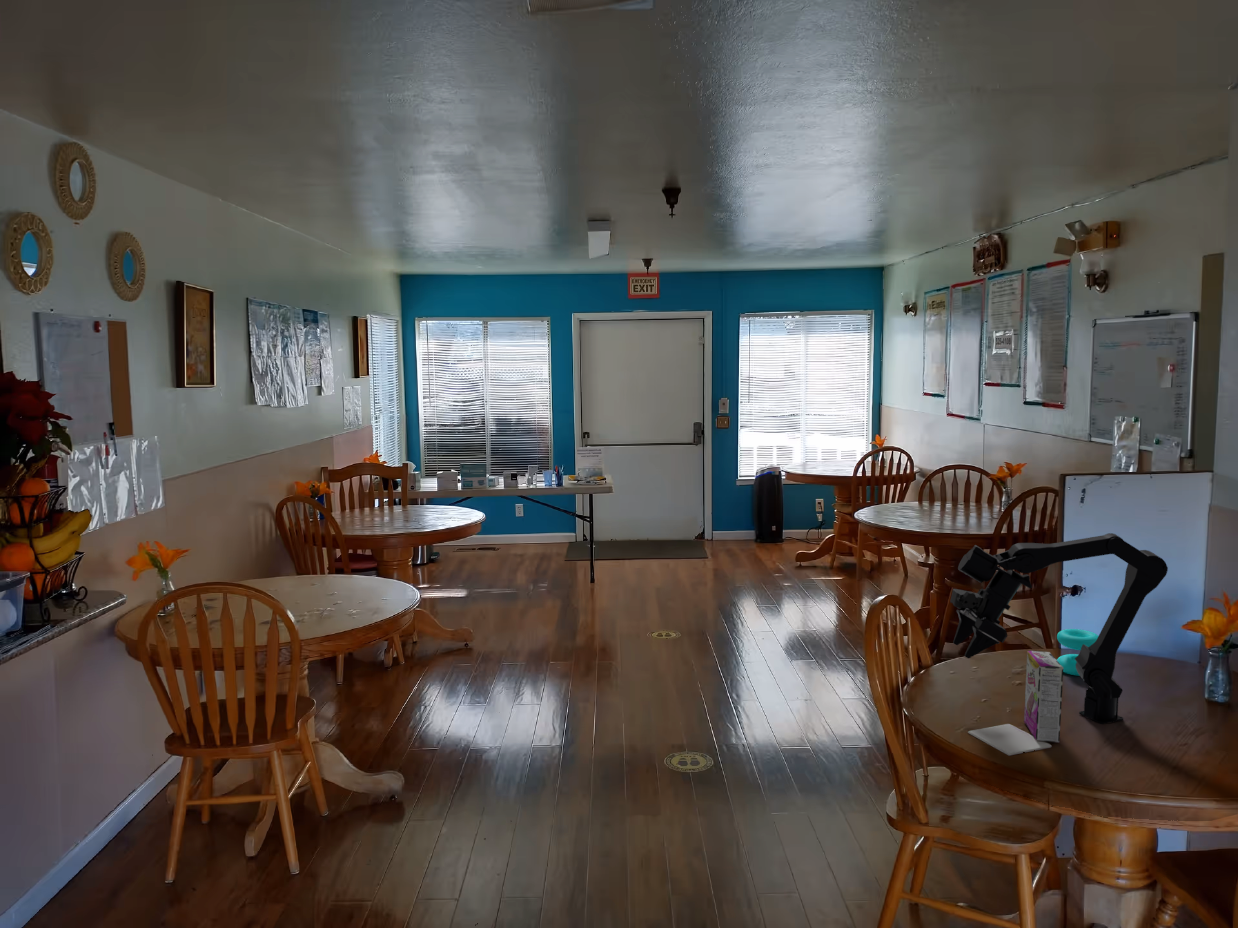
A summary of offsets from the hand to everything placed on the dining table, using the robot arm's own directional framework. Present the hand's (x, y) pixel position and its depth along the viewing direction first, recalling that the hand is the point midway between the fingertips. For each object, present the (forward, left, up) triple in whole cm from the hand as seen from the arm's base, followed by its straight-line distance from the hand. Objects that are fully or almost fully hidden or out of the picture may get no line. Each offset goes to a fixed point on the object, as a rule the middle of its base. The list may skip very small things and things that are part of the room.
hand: (960, 650), depth 206 cm
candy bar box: (-7, +17, -14) cm, 23 cm away
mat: (+1, +17, -14) cm, 22 cm away
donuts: (-45, -10, -14) cm, 48 cm away
